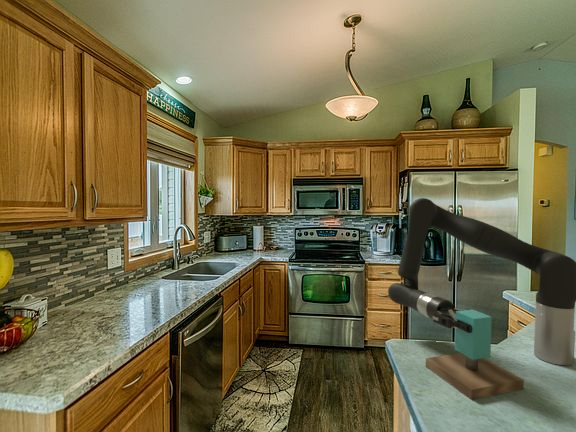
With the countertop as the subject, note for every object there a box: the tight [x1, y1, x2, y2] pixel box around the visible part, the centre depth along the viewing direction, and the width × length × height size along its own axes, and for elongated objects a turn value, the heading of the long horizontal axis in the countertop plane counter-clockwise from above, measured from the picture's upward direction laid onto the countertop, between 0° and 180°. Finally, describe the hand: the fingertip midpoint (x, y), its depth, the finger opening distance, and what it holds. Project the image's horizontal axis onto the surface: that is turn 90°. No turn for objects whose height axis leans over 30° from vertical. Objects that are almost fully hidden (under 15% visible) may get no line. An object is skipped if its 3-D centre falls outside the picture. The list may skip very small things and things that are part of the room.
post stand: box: [425, 352, 525, 400], centre depth 85 cm, size 17×16×12 cm
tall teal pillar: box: [454, 309, 493, 360], centre depth 85 cm, size 6×6×11 cm
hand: (480, 328), depth 83 cm, fingers closed on tall teal pillar, 6 cm apart
